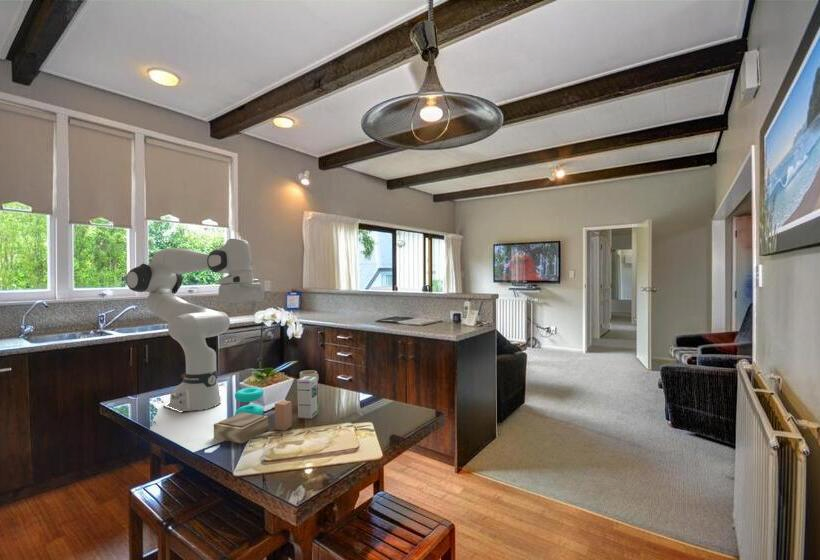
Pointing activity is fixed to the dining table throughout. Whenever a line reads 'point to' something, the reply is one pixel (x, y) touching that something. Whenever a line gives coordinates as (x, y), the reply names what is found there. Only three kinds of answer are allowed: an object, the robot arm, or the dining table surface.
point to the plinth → (241, 427)
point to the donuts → (249, 400)
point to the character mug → (309, 374)
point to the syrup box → (307, 397)
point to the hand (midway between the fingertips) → (244, 313)
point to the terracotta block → (283, 415)
